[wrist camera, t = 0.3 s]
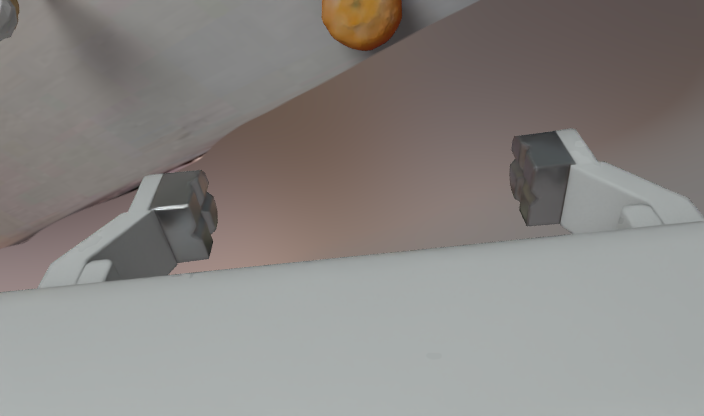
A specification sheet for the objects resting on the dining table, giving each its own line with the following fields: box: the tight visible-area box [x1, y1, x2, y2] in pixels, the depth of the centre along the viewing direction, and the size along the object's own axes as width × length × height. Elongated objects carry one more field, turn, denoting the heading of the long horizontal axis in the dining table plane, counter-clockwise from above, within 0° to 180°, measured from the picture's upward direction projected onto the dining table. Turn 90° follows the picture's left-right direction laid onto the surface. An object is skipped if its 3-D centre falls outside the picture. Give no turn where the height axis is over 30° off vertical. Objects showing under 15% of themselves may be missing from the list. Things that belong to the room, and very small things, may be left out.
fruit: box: [322, 0, 402, 51], centre depth 55 cm, size 8×8×8 cm
